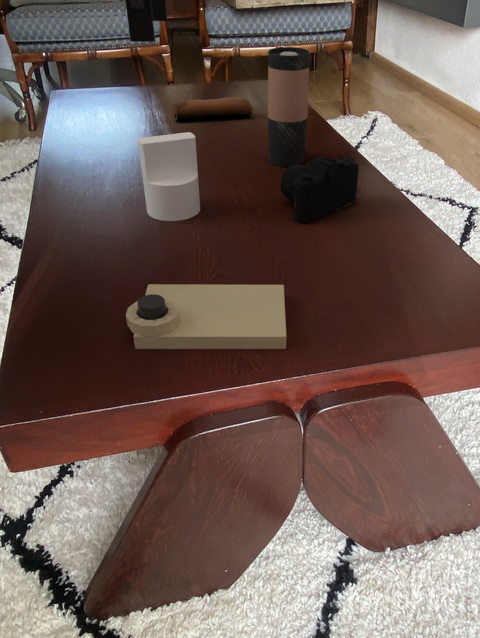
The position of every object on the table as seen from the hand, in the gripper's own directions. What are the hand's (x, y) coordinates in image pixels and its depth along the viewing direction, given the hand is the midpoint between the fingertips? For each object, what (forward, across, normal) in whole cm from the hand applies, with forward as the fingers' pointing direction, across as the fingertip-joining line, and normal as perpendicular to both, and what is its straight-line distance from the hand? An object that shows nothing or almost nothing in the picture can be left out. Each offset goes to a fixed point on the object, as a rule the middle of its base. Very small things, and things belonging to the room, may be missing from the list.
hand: (150, 30), depth 75 cm
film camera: (+29, +15, -23) cm, 40 cm away
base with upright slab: (+29, +13, +1) cm, 32 cm away
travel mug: (+29, +37, -19) cm, 51 cm away
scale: (+29, -21, -7) cm, 37 cm away
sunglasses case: (+29, +67, -3) cm, 73 cm away
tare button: (+26, -24, 0) cm, 35 cm away
